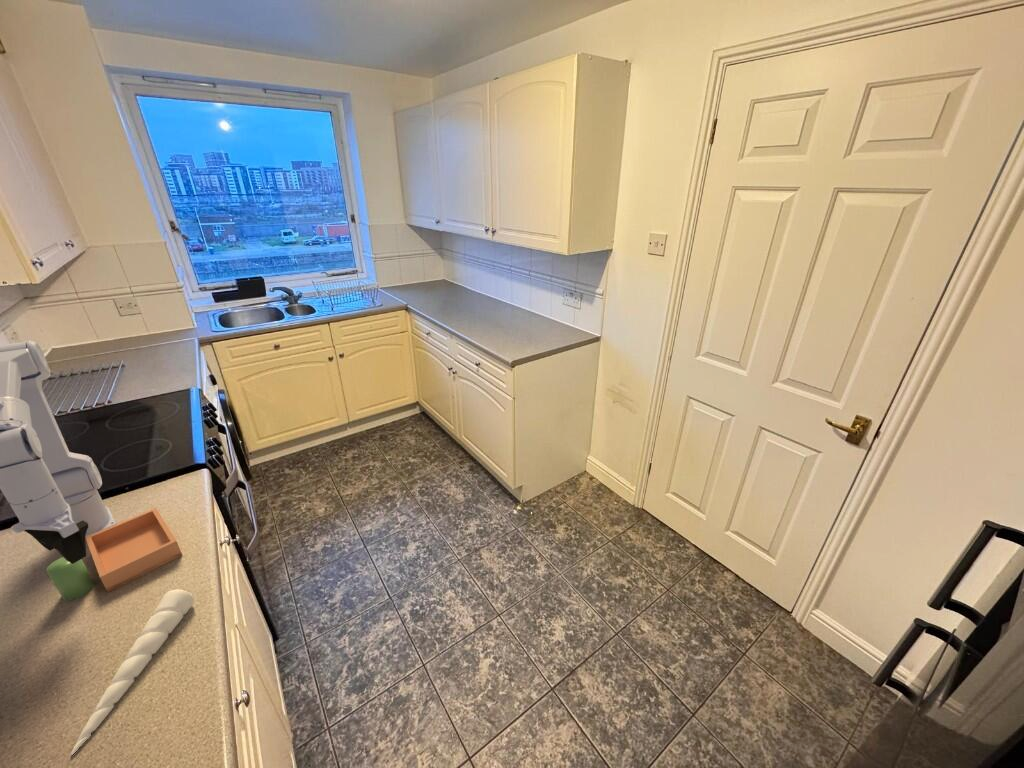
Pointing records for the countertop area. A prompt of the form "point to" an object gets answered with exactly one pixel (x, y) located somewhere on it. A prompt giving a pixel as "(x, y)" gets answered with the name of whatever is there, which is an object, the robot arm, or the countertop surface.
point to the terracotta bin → (132, 548)
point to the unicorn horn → (140, 655)
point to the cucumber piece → (70, 578)
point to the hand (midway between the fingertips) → (67, 552)
